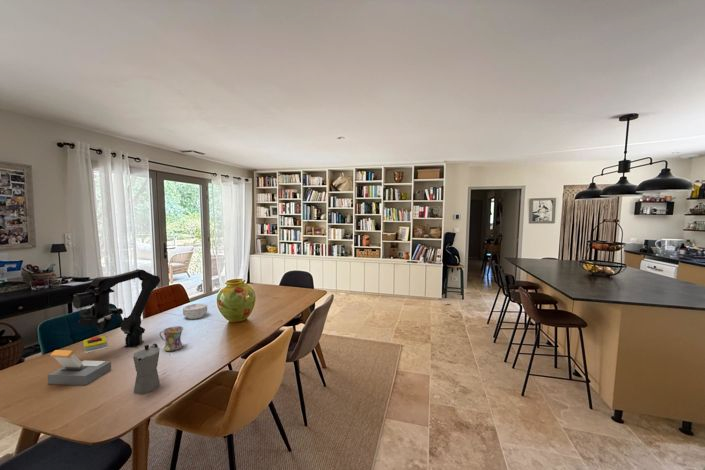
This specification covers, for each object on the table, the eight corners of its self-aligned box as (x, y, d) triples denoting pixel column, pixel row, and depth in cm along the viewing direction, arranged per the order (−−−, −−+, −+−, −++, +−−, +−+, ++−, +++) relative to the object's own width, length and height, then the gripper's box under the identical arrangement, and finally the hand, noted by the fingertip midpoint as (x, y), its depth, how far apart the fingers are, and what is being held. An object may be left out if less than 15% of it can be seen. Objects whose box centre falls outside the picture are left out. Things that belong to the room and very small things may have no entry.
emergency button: (104, 332, 160) (108, 340, 150) (105, 340, 160) (108, 348, 150) (82, 337, 153) (84, 346, 143) (82, 345, 154) (84, 354, 143)
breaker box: (76, 368, 129) (76, 359, 129) (110, 370, 129) (110, 360, 128) (47, 383, 117) (47, 373, 117) (85, 385, 117) (85, 375, 116)
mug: (187, 345, 156) (187, 326, 155) (176, 352, 146) (176, 333, 146) (165, 344, 156) (165, 325, 155) (153, 352, 147) (153, 332, 146)
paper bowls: (193, 312, 209) (193, 302, 208) (211, 314, 207) (211, 303, 206) (177, 319, 194) (177, 308, 193) (197, 321, 192) (197, 310, 191)
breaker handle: (68, 364, 123) (55, 350, 117) (85, 364, 123) (72, 350, 117) (64, 369, 121) (49, 355, 115) (80, 369, 121) (67, 355, 115)
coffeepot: (152, 395, 111) (152, 351, 110) (125, 398, 109) (124, 353, 108) (168, 375, 126) (168, 335, 125) (144, 377, 124) (144, 337, 123)
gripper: (102, 297, 148) (103, 326, 149) (66, 308, 130) (67, 340, 130) (123, 297, 148) (123, 326, 149) (90, 308, 130) (90, 341, 130)
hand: (102, 333), depth 140 cm, fingers closed
